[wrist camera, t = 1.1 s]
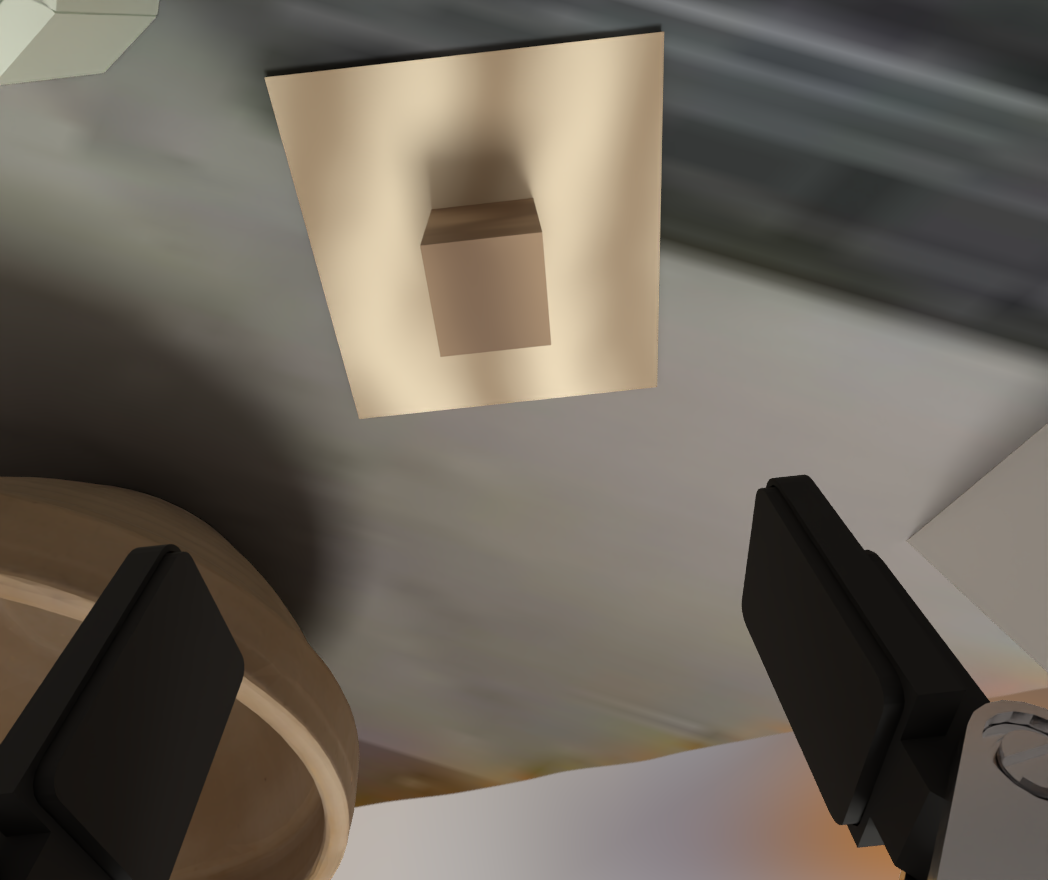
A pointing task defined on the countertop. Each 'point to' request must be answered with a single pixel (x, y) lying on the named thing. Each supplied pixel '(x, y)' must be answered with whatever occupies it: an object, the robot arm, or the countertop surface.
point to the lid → (485, 220)
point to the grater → (1000, 545)
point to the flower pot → (261, 703)
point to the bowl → (67, 36)
